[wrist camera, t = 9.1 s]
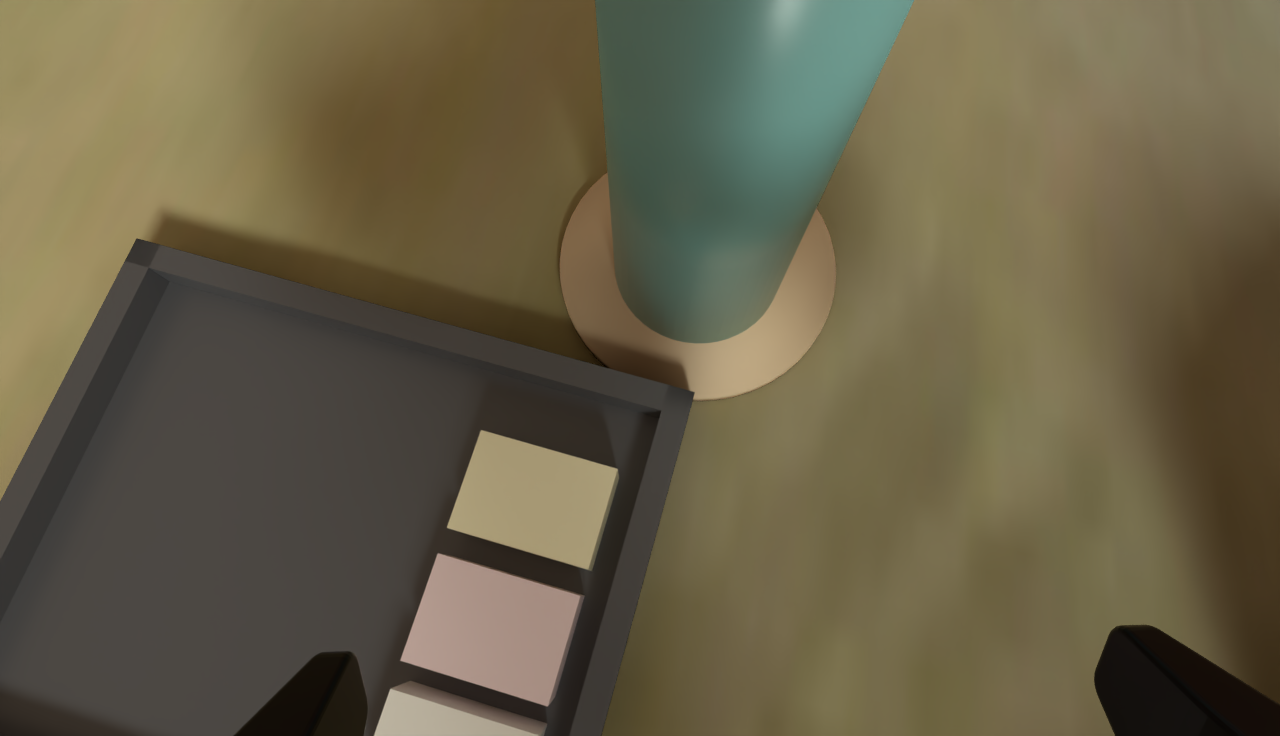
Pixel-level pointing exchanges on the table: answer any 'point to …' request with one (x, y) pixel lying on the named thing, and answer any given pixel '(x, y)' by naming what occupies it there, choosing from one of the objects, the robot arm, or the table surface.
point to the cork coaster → (681, 363)
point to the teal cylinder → (726, 144)
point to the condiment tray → (323, 516)
